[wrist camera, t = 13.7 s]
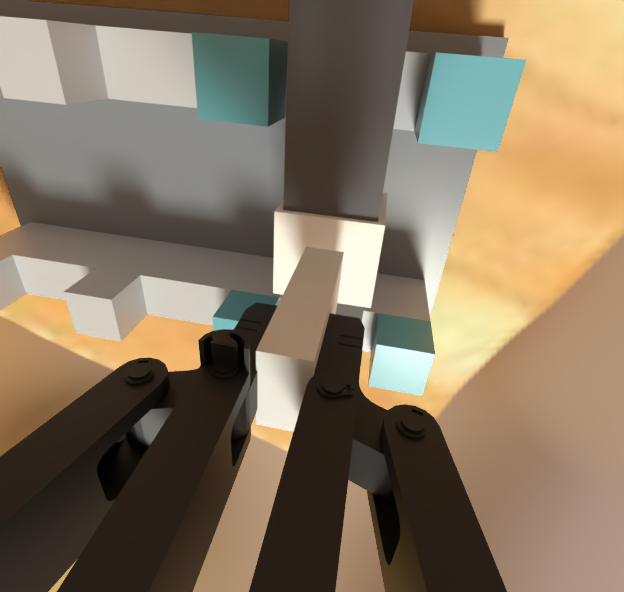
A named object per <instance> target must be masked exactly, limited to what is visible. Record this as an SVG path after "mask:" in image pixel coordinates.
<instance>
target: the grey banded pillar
mask: <svg viewBox="0 0 624 592" xmlns="http://www.w3.org/2000/svg"><path fill="white" fill-rule="evenodd" d="M413 5H414V0H289V23H288V58H287V93H286V128H285V163H284V197H283V201H282V202H281V204H280V205H279V206H278V208H277V209H276V210H275V211H274V266H273V293H275V294H281V298H282V296H283V294H284V291H285V289H286V287H287V285H288V283H289V281H290V279H291V277H292V275H293V273H294V271H295V269H296V267H297V265H298V262H299V260H300V258H301V256H302V254H303V252H304V250H305V248H306V247H313V248H320V249H326V250H333V251H340V252H344V255H343V263H342V271H341V279H340V287H339V295H338V302H337V310H336V314H338V315H344V316H350V317H356V318H360V320H361V322H362V317H363V311H364V307H366V308H371V304H372V298H373V293H374V287H375V281H376V276H377V270H378V264H379V258H380V253H381V247H382V241H383V235H384V230H385V220H386V202H387V193H384V192H383V189H384V182H385V176H386V170H387V164H388V158H389V152H390V146H391V140H392V134H393V127H394V121H395V115H396V109H397V103H398V97H399V91H400V85H401V78H402V72H403V66H404V60H405V54H406V48H407V42H408V36H409V30H410V23H411V17H412V11H413Z"/></svg>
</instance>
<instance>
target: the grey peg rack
mask: <svg viewBox="0 0 624 592" xmlns="http://www.w3.org/2000/svg"><path fill="white" fill-rule="evenodd" d="M288 23H289V21H285V20H272V19H259V18H246V17H233V16H220V15H207V14H195V13H182V12H169V11H156V10H143V9H130V8H117V7H104V6H91V5H78V4H66V3H53V2H40V1H27V0H0V166H1V169H2V172H3V175H4V177H5V180H6V183H7V186H8V189H9V192H10V195H11V198H12V201H13V204H14V207H15V210H16V213H17V216H18V219H19V222H20V225H21V227H18V228H16V229H14V230H12V231H10V232H7V233H5V234H3V235H1V236H0V310H2V309H3V308H5V307H7V306H8V305H10V304H11V303H13V302H14V301H16V300H17V299H19V298H21V297H22V296H24V295H25V294H31V295H37V296H43V297H49V298H55V299H60V300H66V303H67V306H68V309H69V312H70V316H71V319H72V322H73V325H74V329H75V332H76V333H77V334H82V335H88V336H94V337H99V338H105V339H110V340H116V341H122V340H123V339H124V338H125V337H126V336H127V335H128V334H129V333H130V332H131V331H132V330H133V329H134V328H135V327H136V326H137V325H138V324H139V322H140V321H141V320H142V319H143V318H144V317H145V316H146V315H147V314H148V315H154V316H160V317H166V318H172V319H178V320H184V321H189V322H195V323H201V324H207V325H213V330H214V331H216V330H221V329H230V330H234V328H235V326H236V325H237V323H238V321H240V318H241V316H242V315H243V313H244V311H245V310H246V309H247V308H248V307H250V306H251V305H253V304H254V303H256V302H258V303H264V304H270V305H277V306H278V304H279V302H280V300H281V294H275V293H273V266H274V211H275V210H276V209H277V208H278V206H279V205H280V204H281V202H282V201H283V197H284V163H285V128H286V93H287V58H288ZM507 42H508V38H504V37H491V36H479V35H466V34H453V33H440V32H427V31H414V30H409V36H408V42H407V48H406V54H405V60H404V66H403V72H402V78H401V85H400V91H399V97H398V103H397V109H396V115H395V121H394V127H393V134H392V140H391V146H390V152H389V158H388V164H387V170H386V176H385V182H384V189H383V192H384V193H387V202H386V220H385V230H384V235H383V241H382V247H381V253H380V258H379V264H378V270H377V276H376V281H375V287H374V293H373V298H372V304H371V308H366V307H364V311H363V317H362V324H363V326H364V328H365V331H364V339H363V348H362V351H365V352H371V357H370V369H369V382H368V386H371V387H376V388H382V389H387V390H393V391H398V392H404V393H409V394H415V395H421V396H422V395H423V391H424V388H425V385H426V382H427V378H428V375H429V372H430V369H431V366H432V362H433V359H434V356H435V351H434V343H433V336H432V329H431V322H430V315H431V311H432V308H433V304H434V301H435V297H436V294H437V290H438V286H439V283H440V279H441V276H442V272H443V269H444V265H445V262H446V258H447V255H448V251H449V247H450V244H451V240H452V237H453V233H454V230H455V226H456V223H457V219H458V216H459V212H460V209H461V205H462V201H463V198H464V194H465V191H466V187H467V184H468V180H469V177H470V173H471V170H472V166H473V162H474V159H475V155H476V152H477V150H485V151H494V152H498V149H499V146H500V143H501V139H502V136H503V133H504V130H505V126H506V123H507V120H508V117H509V114H510V110H511V107H512V104H513V101H514V97H515V94H516V91H517V88H518V84H519V81H520V78H521V75H522V71H523V68H524V65H525V62H526V60H520V59H508V58H503V56H504V53H505V49H506V46H507Z"/></svg>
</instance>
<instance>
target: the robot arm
mask: <svg viewBox="0 0 624 592" xmlns="http://www.w3.org/2000/svg"><path fill="white" fill-rule="evenodd" d="M343 255H344V252H340V251H333V250H326V249H320V248H313V247H306V248H305V250H304V252H303V254H302V256H301V258H300V260H299V262H298V265H297V267H296V269H295V271H294V273H293V275H292V277H291V279H290V281H289V283H288V285H287V287H286V289H285V291H284V294H283V296H282V298H281V300H280V302H279V304H278V306H277V305H270V304H264V303H258V302H256V303H254V304H253V305H251V306H250V307H248V308H247V309H246V310H245V311H244V313H243V315H242V316H241V318H240V321H238V323H237V325H236V326H235V328H234V330H230V329H221V330H216V331H212V332H210V333H207V334H205V335H204V336H203V337H202V338H201V339H199V340H198V341H199V351H200V361H201V366H200V367H199V369H195V370H189V371H175V372H168V370H167V367H166V365H165V364H164V363H163V362H161V361H160V360H158V359H153V358H139V359H135V360H132V361H129V362H127V363H125V364H124V365H122V366H120V367H119V368H117V369H116V370H115V371H114V372H112V373H111V374H110V375H108V376H107V377H105V378H104V379H103V380H102V381H100V382H99V383H98V384H96V385H95V386H94V387H92V388H91V389H90V390H88V391H87V392H86V393H84V394H83V395H82V396H80V397H79V398H78V399H76V400H75V401H74V402H72V403H71V404H70V405H68V406H67V407H66V408H64V409H63V410H62V411H60V412H59V413H58V414H56V415H55V416H54V417H52V418H51V419H50V420H49V421H47V422H46V423H44V424H43V425H42V426H40V427H39V428H38V429H37V430H35V431H34V432H32V433H31V434H30V435H28V436H27V437H26V438H24V439H23V440H22V441H20V442H19V443H18V444H17V445H15V446H14V447H13V448H11V449H10V450H9V451H7V452H6V453H5V454H3V455H2V456H1V457H0V592H48V591H49V590H50V589H51V588H52V586H54V584H55V583H56V582H57V581H58V580H59V579H60V578H61V577H62V576H63V574H64V573H65V572H66V571H67V570H68V569H69V568H70V567H71V566H72V564H73V563H74V562H75V561H76V560H77V561H76V562H75V564H74V566H73V567H72V569H71V570H70V572H69V573H68V575H67V577H66V578H65V580H64V581H63V583H62V584H61V586H60V588H59V589H58V591H57V592H193V589H194V586H195V584H196V581H197V578H198V576H199V573H200V570H201V568H202V565H203V563H204V560H205V557H206V555H207V552H208V550H209V547H210V544H211V542H212V539H213V536H214V534H215V531H216V528H217V525H218V523H219V521H220V518H221V515H222V513H223V510H224V508H225V505H226V502H227V500H228V497H229V494H230V492H231V489H232V487H233V484H234V481H235V478H236V476H237V473H238V471H239V468H240V465H241V463H242V460H243V457H244V455H245V452H246V450H247V447H248V444H249V442H250V437H251V424H252V422H253V419H254V417H255V414H256V424H257V425H262V426H267V427H272V428H277V429H282V430H287V431H292V432H293V436H292V440H291V443H290V447H289V450H288V454H287V458H286V461H285V465H284V468H283V472H282V475H281V479H280V483H279V486H278V490H277V493H276V497H275V501H274V504H273V508H272V512H271V516H270V518H269V522H268V526H267V530H266V533H265V536H264V540H263V544H262V547H261V551H260V554H259V558H258V561H257V565H256V569H255V573H254V576H253V579H252V583H251V587H250V591H249V592H335V589H336V588H335V587H336V580H337V571H338V563H339V553H340V546H341V537H342V529H343V520H344V511H345V503H346V494H347V486H348V480H350V481H352V482H353V483H355V484H357V485H359V486H360V487H362V488H364V489H366V490H367V494H368V500H369V505H370V511H371V516H372V521H373V527H374V533H375V538H376V544H377V549H378V555H379V559H380V565H381V571H382V576H383V582H384V587H385V592H507V591H506V589H505V586H504V583H503V581H502V578H501V576H500V574H499V571H498V569H497V566H496V564H495V561H494V559H493V556H492V554H491V551H490V549H489V547H488V544H487V542H486V539H485V537H484V534H483V532H482V530H481V527H480V524H479V522H478V520H477V517H476V515H475V512H474V510H473V507H472V505H471V502H470V500H469V497H468V495H467V493H466V490H465V488H464V485H463V483H462V480H461V478H460V476H459V473H458V471H457V468H456V466H455V463H454V461H453V458H452V456H451V453H450V451H449V449H448V446H447V444H446V441H445V439H444V436H443V434H442V431H441V429H440V426H439V425H438V423H437V422H436V420H435V419H434V417H432V416H431V415H430V414H429V413H428V412H426V411H425V410H423V409H421V408H418V407H416V406H411V405H405V404H404V405H398V406H394V407H393V408H391V409H389V410H386V409H384V408H382V407H380V406H378V405H376V404H374V403H372V402H371V401H370V400H369V399H367V398H366V397H365V396H364V394H363V393H362V392H361V389H360V387H359V374H360V365H361V357H362V348H363V339H364V331H365V328H364V326H363V324H362V322H361V320H360V318H356V317H350V316H344V315H338V314H336V310H337V302H338V295H339V287H340V279H341V271H342V263H343Z"/></svg>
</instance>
